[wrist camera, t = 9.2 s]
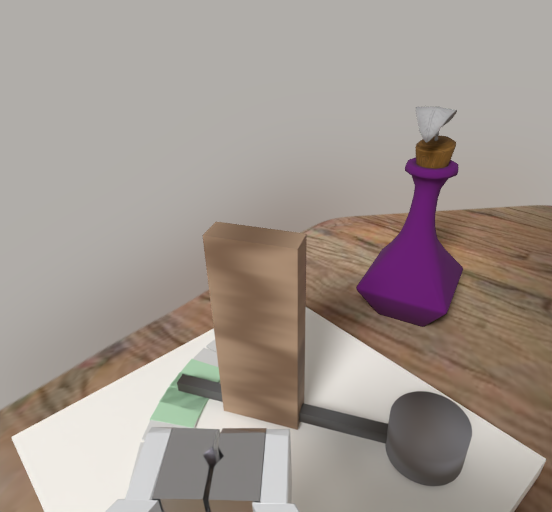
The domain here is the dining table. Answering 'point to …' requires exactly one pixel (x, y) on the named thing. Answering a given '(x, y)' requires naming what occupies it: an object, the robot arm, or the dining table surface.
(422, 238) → the perfume bottle
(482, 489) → the dial board
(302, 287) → the lever
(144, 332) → the dining table surface
